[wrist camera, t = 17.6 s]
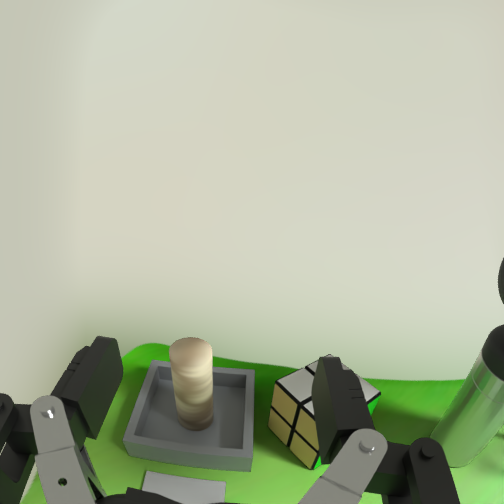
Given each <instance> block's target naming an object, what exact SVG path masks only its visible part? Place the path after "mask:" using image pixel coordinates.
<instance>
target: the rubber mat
mask: <svg viewBox="0 0 504 504" xmlns="http://www.w3.org/2000/svg"><path fill="white" fill-rule="evenodd" d="M225 488H226V482H223V481H212V480H203V479H194V478H187V477H180V476H173V475H167V474H162V473H156V472H151V471H147V472H146V476H145V479H144V483H143V487H142V490H143V491H148V492H152V493H157V494H160V495H162V496H164V497H167V498H169V499H172V500H174V501H177V502H179V503H182V504H211V503H219V502H224V500H225Z"/></svg>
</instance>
